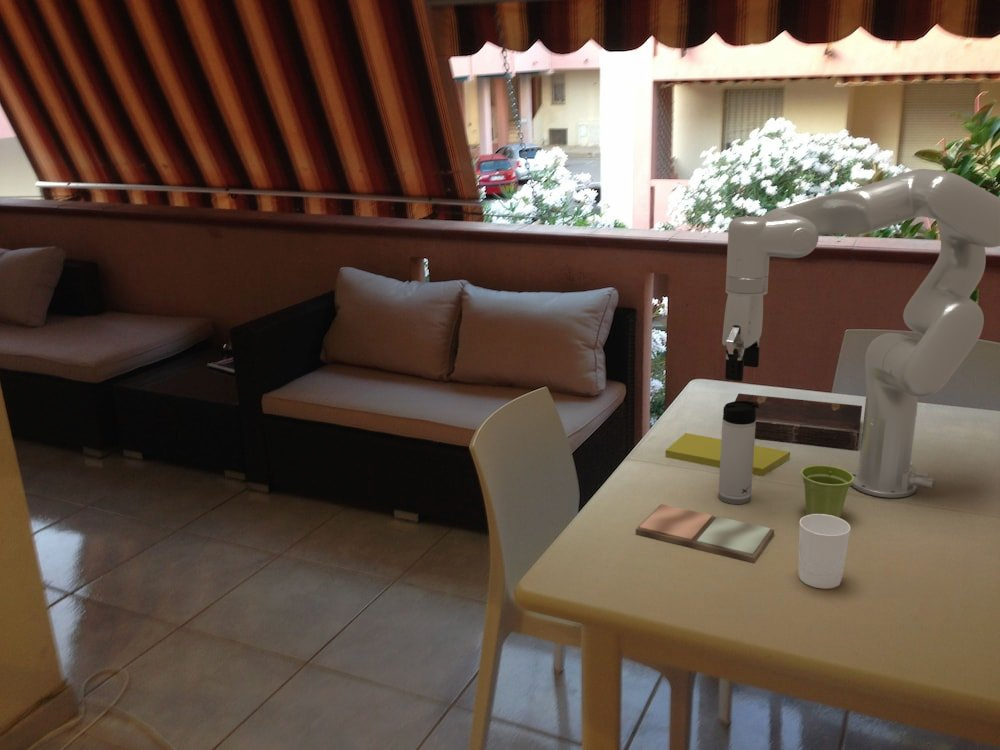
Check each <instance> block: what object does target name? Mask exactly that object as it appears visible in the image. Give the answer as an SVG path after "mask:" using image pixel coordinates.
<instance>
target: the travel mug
mask: <svg viewBox="0 0 1000 750" xmlns="http://www.w3.org/2000/svg"><path fill="white" fill-rule="evenodd" d="M756 407H757V409H758V408H759V405H758V403H757V402H750V401H735V400H734V401H731V402H728V403H726V404H724V406H723V409H722V410H723V411H722V413H723V415H722V423H721V424H722V425H721V426H722V427H721V438H720V439H721V458H720V468H719V476H718V478H719V479H718V498H719V500H721V501H722V502H724V503H727V504H730V505H731V504H732V505H744V504H746V503H749V502H750V501H751V498H752V484H753V474H752V472H753V457H754V445H755V440H756V439H755V427H756V424H755V423H756Z"/></svg>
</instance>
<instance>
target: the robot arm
mask: <svg viewBox="0 0 1000 750" xmlns="http://www.w3.org/2000/svg"><path fill="white" fill-rule="evenodd" d="M920 217H921V218H928V219H933V220H936V226H937V229H938V234H939V236H940V237H939V239H940V251H939V254H938V257H937V260H936V261H935V264H934V265H933V267H932V268H931V270H930V271H929V272H928V274H927V275H926V277H925V278H924V279H923V281H922V283H920V285H919V286H918V288H917V289H916V291H915V292H914V294H913V295H912V296H911V298H910V299H909V301H908V302H907V304H906V306H905V307H904V310H903V315H902V318H903V321H904V324H905V325H906V327H908V328H909V329H910V330H911V331H912V332H914V333H916V334H918V335H920V336H922V337H921V338H920V340H916V339H914V338H912V337H910V336H909V335H904V334H902V333H898V332H887V333H883V334H881V335H879V336H877V337H875V338H874V339H873V340H872V341H871V342H870V344H869V345H868V347H867V349H866V352H865V356H864V357H865V358H864V370H865V385H866V386H865V387H866V388H865V389H866V390H865V391H866V392H865V403H864V405H865V406H864V413H863V422H862V431H861V432H862V433H861V440H860V443H861V444H860V452H859V460H858V461H859V462H858V469H857V470H855V471H853V472H851V474H852V475H853V476H854V481H853V482H852V483H851V485H850V486H852V487H853V488H854V489H855V490H857V491H859V492H861V493H864V494H867V495H870V496H873V497H878V498H886V499H887V498H889V499H895V498H896V499H897V498H905V497H909V496H912V495H913V494H914V493H915V492H916V490H917V486H918V487H921V488H926V489H933V484H934V479H933V478H930V477H929V474H926V473H918V472H916V470H914V465H913V464H912V463H911V460H912V453H913V445H914V436H915V435H914V434H915V429H916V427H915V426H916V421H917V420H916V419H917V415H918V414H917V413H918V397H919V398H923V397H924V398H925V397H930V396H932V395H934V394H935V393H937V392H939V391H940V390H941V389H942V388H943V387H944V386H945V385H946V384H947V383H948V382H949V380H950V379H951V378H952V376H953V375H954V374H955V373H956V371H957V370H958V368H959V367H960V365H961V364H962V363H963V361H964V360H965V359H966V357H967V356H968V355H969V353H970V352H971V350H972V349H973V348H974V346H975V345H976V343H977V342H978V340H979V338H980V337H981V334H982V331H983V328H984V325H985V324H984V323H985V320H984V313H983V311H982V308H981V307H980V306H979V304H978V303H977V302H976V301H974V300H973V299H971V298H970V297H971V295H972V294H973V292H974V291H975V289H976V288H977V286H978V284H980V281H981V279H982V278H983V276H984V272H985V268H986V261H987V260H986V259H987V258H986V257H987V256H986V248H987V249H989V248H997V247H1000V197H998V195H995V194H993V193H991V192H990V191H988V190H986V189H984V188H983V187H981V186H978V185H977V184H975V183H973V182H972V181H970V180H968V179H967V178H964V177H963V176H961V175H958V174H957V173H953V172H951V171H950V172H949V171H944V170H936V169H929V168H918V169H913V170H910V171H906V172H903V173H900V174H896V175H893V176H890V177H888V178H885V179H882V180H880V181H875V182H873V183H869V184H865V185H864V186H861V187H858V188H857V187H856V188H854V189H850V190H844V191H842V190H841V191H838V192H834V193H830V194H824V195H820V196H814V197H810V198H806V199H802V200H798V201H795V202H791V203H789V204H786V205H783V206H779V207H777V208H774V209H771V210H769V211H768V212H766V213H764V214H763V215H762V216H750V215H749V216H739V217H734V218H732V219H731V221H730V222H729V224H728V229H727V231H728V232H727V255H726V274H725V276H726V278H725V293H726V294H727V298H726V303H725V310H724V318H723V330H722V340H721V341H722V345H723V346H724V347H726V350H725V373H724V374H725V380H728V381H735V382H742V381H743V380H744V367H747V368H757V367H758V368H759V363H760V345H761V340H760V338H761V336H762V333H763V332H762V331H763V322H764V321H763V320H764V319H763V318H764V296H765V295H767V294H768V288H769V274H770V272H769V269H770V257H775V258H776V257H777V258H785V259H786V258H787V259H798V258H803V257H805V256H807V255H809V254H810V253H812V252H813V251H814V250H815V249H816V247H817V245H818V243H819V237H820V236H824V235H846V236H849V235H864V234H869V233H873V232H876V231H879V230H882V229H885V228H887V227H888V228H889V227H890V226H894V225H897V224H900V223H903V222H907V221H909V220H912V219H916V218H920ZM738 350H739V351H738Z"/></svg>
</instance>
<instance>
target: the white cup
mask: <svg viewBox="0 0 1000 750" xmlns="http://www.w3.org/2000/svg"><path fill="white" fill-rule="evenodd" d="M798 523H799V525H798V527H799V528H798V578H799V580H800V581H802V582H803V583H804V584H805V585H806V586H810V587H812V588H817V589H824V590H827V589H834V588H837V587H839V586H840V585H841V583H842V580H843V574H844V573H843V572H844V569H845V567H846V566H845V564H846V559H847V554H848V547H849V543H850V542H849V539H850V533H851V529H852V527H851V525H850V524H849V522H847V520H845V519H843V518H841V517H840V518H838V517H835V516H832V515H826V514H811V515H807V514H806V515H804V516H802V517H801V518H800V520H799V522H798Z"/></svg>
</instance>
